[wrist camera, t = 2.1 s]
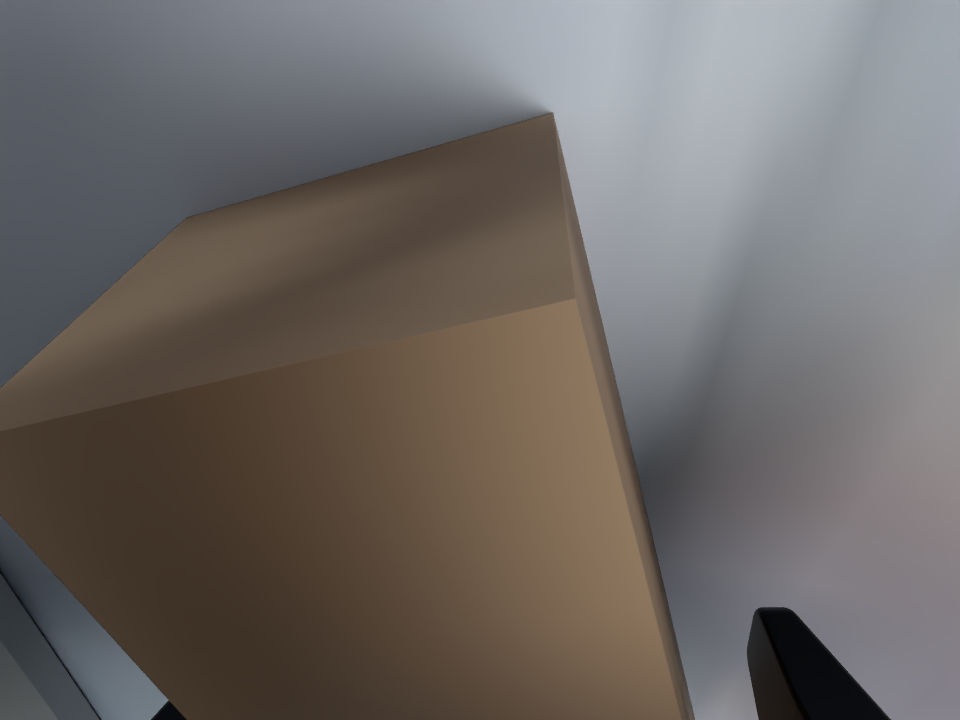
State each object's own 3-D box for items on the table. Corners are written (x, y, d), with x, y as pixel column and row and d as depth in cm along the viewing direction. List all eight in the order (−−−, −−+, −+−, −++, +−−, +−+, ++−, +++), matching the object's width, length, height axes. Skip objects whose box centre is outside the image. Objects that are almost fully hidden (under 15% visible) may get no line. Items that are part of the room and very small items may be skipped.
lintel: (551, 106, 7) (575, 298, 3) (702, 750, 13) (762, 1043, 10) (195, 209, 8) (-63, 445, 4) (495, 769, 14) (485, 1046, 10)
